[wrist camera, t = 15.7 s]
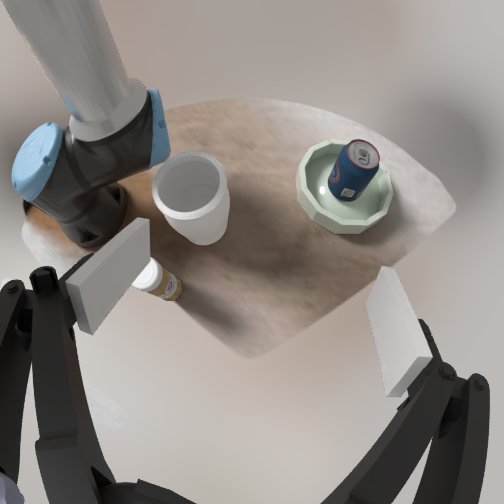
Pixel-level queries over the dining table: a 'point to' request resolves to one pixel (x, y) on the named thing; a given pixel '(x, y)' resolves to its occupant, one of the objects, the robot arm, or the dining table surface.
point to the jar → (193, 196)
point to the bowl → (330, 208)
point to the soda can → (353, 170)
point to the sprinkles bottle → (158, 282)
